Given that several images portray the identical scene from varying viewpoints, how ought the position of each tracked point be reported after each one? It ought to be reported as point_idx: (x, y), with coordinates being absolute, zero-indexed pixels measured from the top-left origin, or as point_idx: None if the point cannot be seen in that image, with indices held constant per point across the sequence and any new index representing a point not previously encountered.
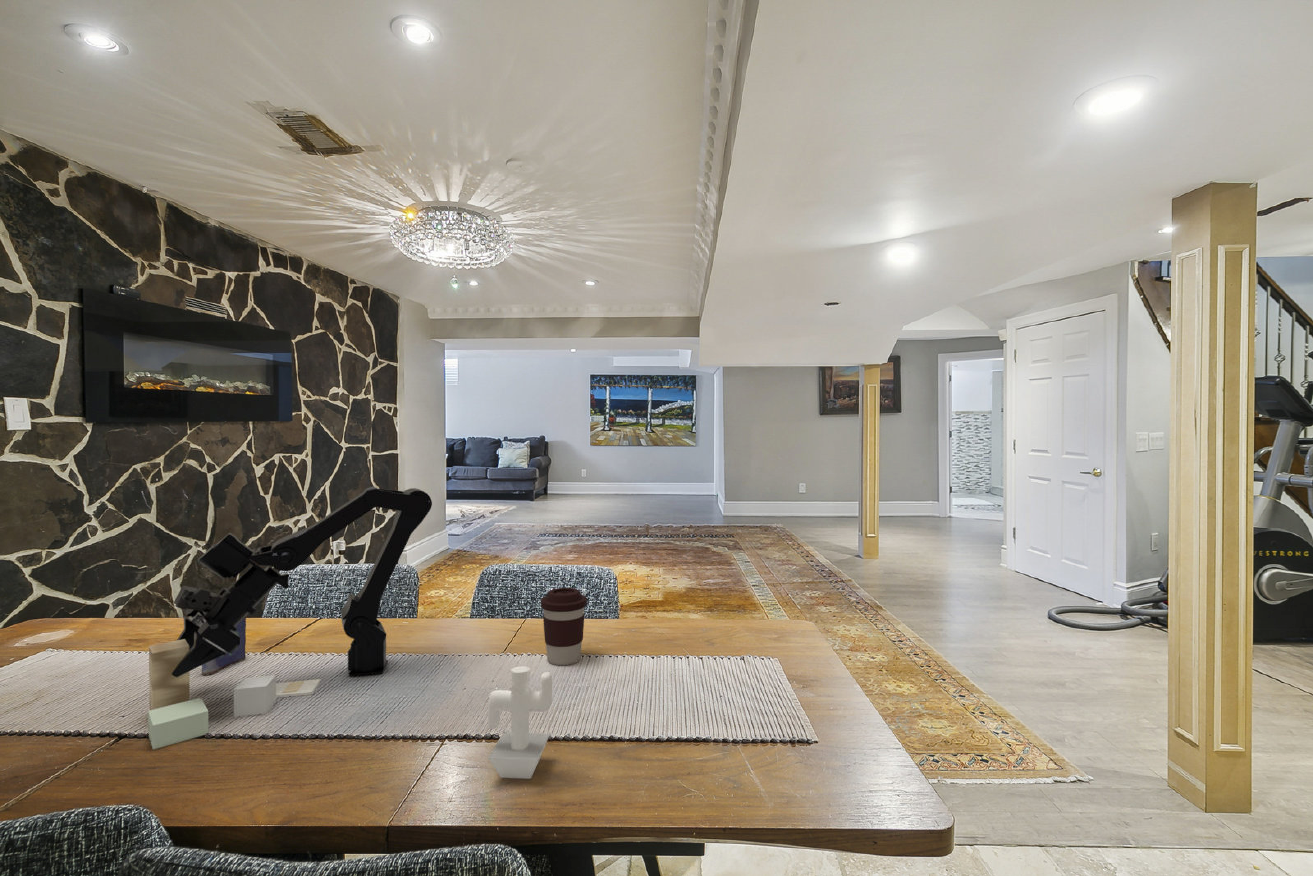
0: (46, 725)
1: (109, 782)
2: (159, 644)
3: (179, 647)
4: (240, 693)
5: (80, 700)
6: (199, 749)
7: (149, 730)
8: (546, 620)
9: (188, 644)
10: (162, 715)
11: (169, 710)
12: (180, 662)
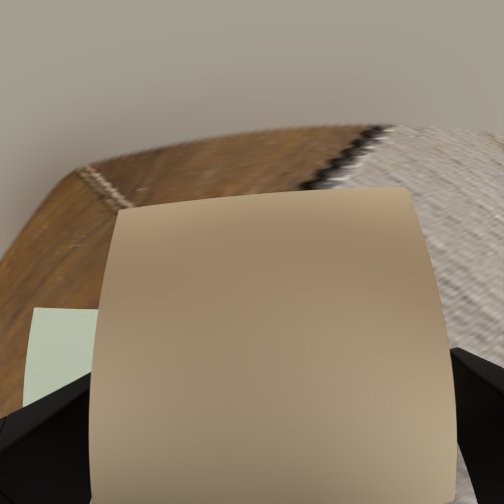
0: (392, 158)
1: (25, 260)
2: (406, 261)
3: (103, 431)
4: None
5: (500, 202)
6: (17, 388)
7: None
8: None
9: (498, 476)
10: (69, 336)
11: (90, 360)
12: (54, 399)
